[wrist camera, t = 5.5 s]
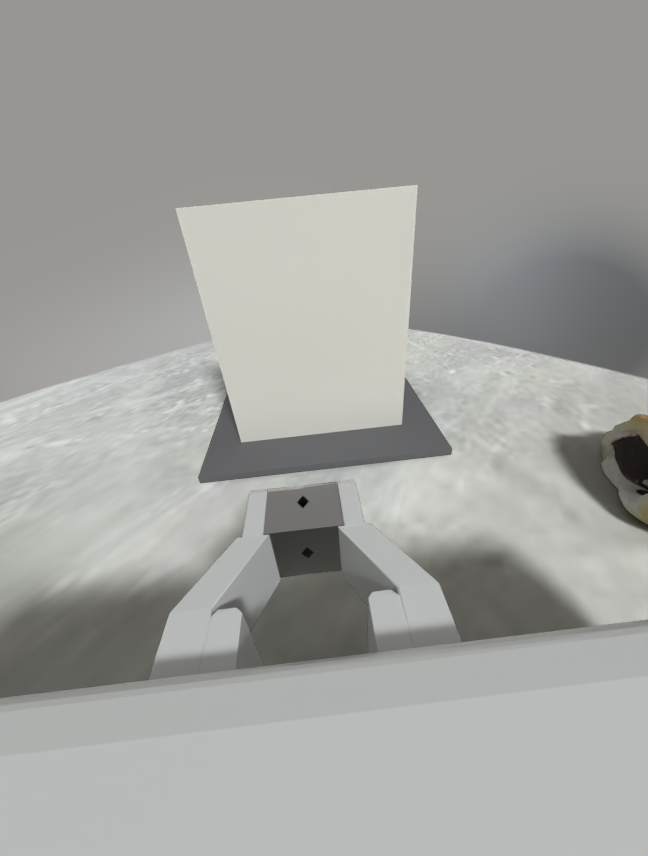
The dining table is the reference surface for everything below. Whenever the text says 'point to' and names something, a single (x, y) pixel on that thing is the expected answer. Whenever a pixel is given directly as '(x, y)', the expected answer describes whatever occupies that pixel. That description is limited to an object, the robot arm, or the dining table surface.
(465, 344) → the dining table surface
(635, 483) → the pastry
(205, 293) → the tile
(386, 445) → the mat
